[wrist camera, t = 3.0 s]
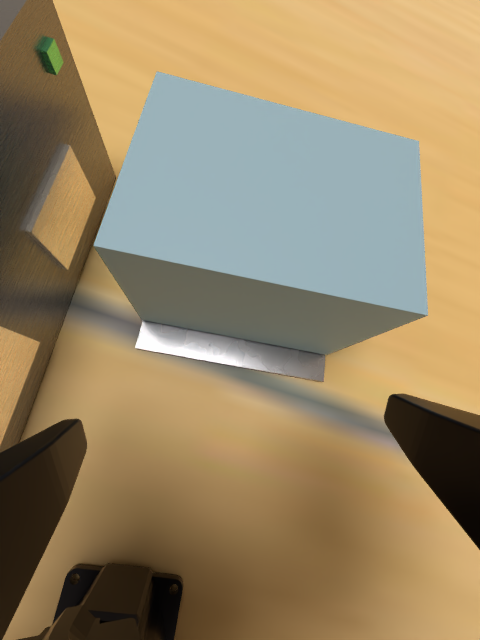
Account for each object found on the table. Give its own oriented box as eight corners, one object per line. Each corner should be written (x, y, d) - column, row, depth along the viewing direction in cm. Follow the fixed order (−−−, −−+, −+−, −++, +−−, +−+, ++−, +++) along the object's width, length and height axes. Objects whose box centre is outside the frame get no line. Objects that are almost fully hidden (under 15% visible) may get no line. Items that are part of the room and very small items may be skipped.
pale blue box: (326, 354, 22) (428, 315, 12) (141, 320, 20) (93, 245, 11) (333, 242, 25) (418, 141, 15) (173, 206, 23) (156, 71, 14)
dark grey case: (311, 536, 18) (494, 744, 7) (-97, 483, 16) (-773, 664, 5) (335, 176, 28) (431, 16, 16) (76, 112, 26) (-21, -125, 14)
